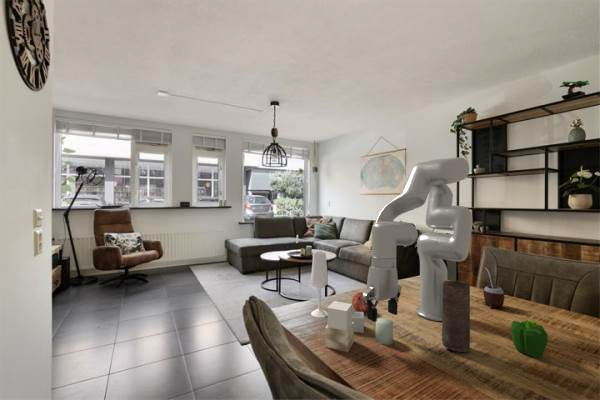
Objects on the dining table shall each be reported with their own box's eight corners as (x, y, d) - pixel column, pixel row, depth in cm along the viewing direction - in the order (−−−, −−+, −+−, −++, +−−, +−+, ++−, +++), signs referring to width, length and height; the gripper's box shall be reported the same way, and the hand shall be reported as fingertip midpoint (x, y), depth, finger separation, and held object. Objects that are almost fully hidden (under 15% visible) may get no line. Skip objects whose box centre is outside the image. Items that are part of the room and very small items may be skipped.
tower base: (354, 341, 88) (353, 322, 88) (347, 352, 81) (347, 332, 81) (332, 336, 91) (332, 318, 91) (325, 347, 84) (325, 327, 84)
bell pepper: (508, 342, 87) (508, 310, 87) (543, 349, 83) (543, 315, 83) (513, 355, 80) (513, 320, 79) (551, 363, 75) (551, 327, 75)
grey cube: (363, 326, 98) (363, 312, 98) (363, 333, 93) (363, 318, 93) (349, 325, 99) (348, 311, 99) (348, 331, 94) (348, 317, 94)
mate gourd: (501, 311, 109) (501, 273, 109) (478, 305, 116) (478, 269, 115) (507, 307, 114) (507, 270, 114) (485, 301, 120) (485, 267, 120)
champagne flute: (322, 309, 113) (322, 250, 113) (331, 315, 107) (331, 253, 107) (307, 312, 110) (307, 251, 110) (316, 318, 104) (315, 254, 104)
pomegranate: (354, 311, 116) (344, 302, 110) (361, 295, 118) (352, 286, 112) (370, 319, 110) (360, 310, 104) (377, 302, 113) (368, 292, 107)
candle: (469, 358, 78) (469, 287, 78) (440, 351, 82) (440, 283, 82) (470, 346, 84) (470, 280, 84) (443, 339, 88) (443, 277, 88)
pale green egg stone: (393, 338, 89) (393, 319, 89) (391, 346, 85) (391, 326, 85) (377, 335, 92) (377, 316, 92) (374, 342, 87) (374, 323, 87)
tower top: (352, 323, 87) (352, 304, 87) (346, 331, 82) (346, 311, 82) (333, 319, 90) (333, 300, 90) (327, 327, 85) (327, 307, 84)
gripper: (391, 257, 96) (390, 307, 96) (355, 262, 86) (354, 318, 86) (410, 261, 89) (409, 315, 89) (374, 267, 80) (373, 327, 80)
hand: (382, 316), depth 88 cm, fingers open, 9 cm apart
